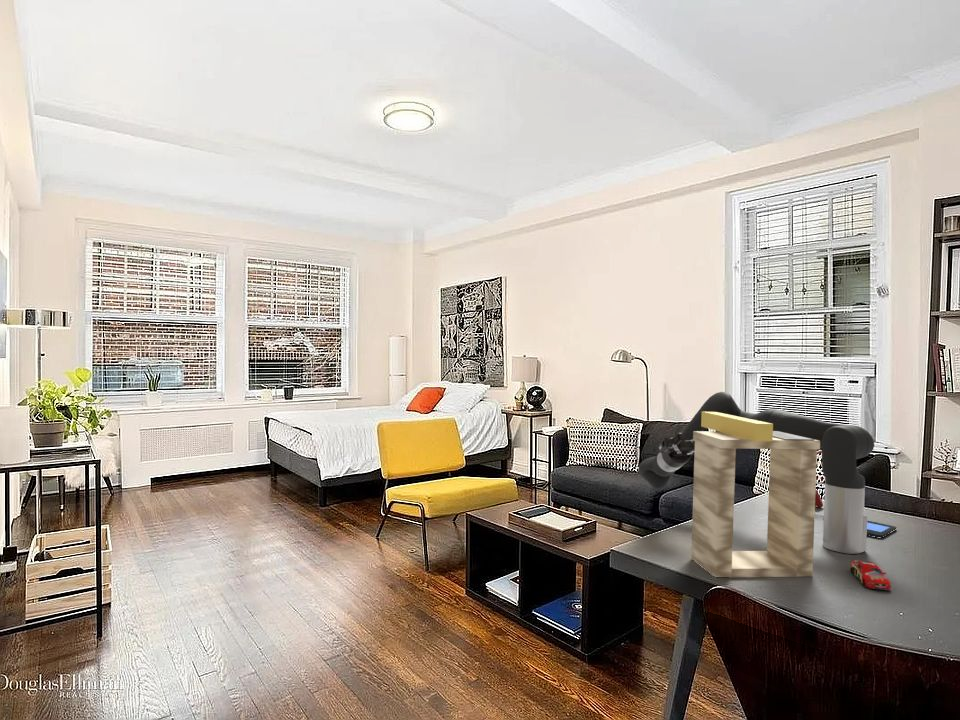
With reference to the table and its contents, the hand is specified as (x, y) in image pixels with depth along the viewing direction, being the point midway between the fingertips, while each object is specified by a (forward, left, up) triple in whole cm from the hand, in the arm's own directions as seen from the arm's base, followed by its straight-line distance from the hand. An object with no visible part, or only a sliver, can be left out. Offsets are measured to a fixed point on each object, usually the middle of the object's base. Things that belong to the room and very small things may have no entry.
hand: (695, 436), depth 168 cm
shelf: (-3, +24, -28) cm, 37 cm away
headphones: (-62, -29, -29) cm, 74 cm away
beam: (0, +20, +4) cm, 20 cm away
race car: (-27, +33, -29) cm, 52 cm away
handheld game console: (-57, -6, -29) cm, 64 cm away
